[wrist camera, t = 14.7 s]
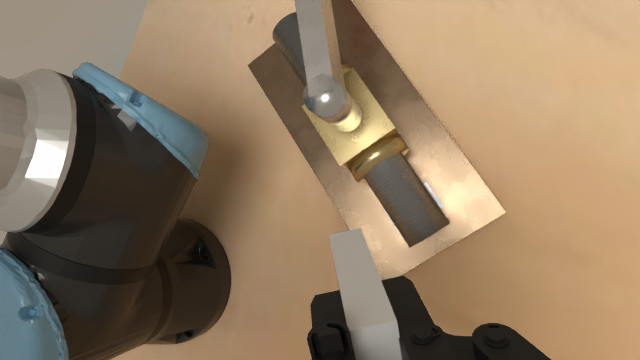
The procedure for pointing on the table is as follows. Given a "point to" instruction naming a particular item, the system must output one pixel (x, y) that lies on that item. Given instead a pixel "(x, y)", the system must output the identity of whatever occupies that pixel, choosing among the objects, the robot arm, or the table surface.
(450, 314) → the table surface
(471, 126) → the table surface
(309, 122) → the valve stand
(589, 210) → the table surface
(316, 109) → the lever
